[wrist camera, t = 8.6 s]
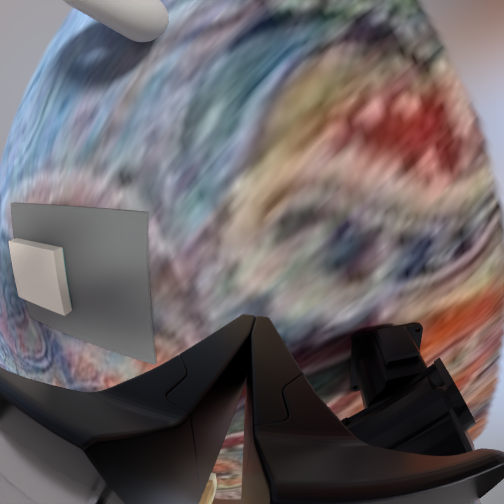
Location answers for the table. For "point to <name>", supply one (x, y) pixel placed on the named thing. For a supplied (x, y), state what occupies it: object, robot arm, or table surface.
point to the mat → (97, 273)
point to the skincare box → (209, 490)
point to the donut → (127, 16)
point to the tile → (41, 274)
